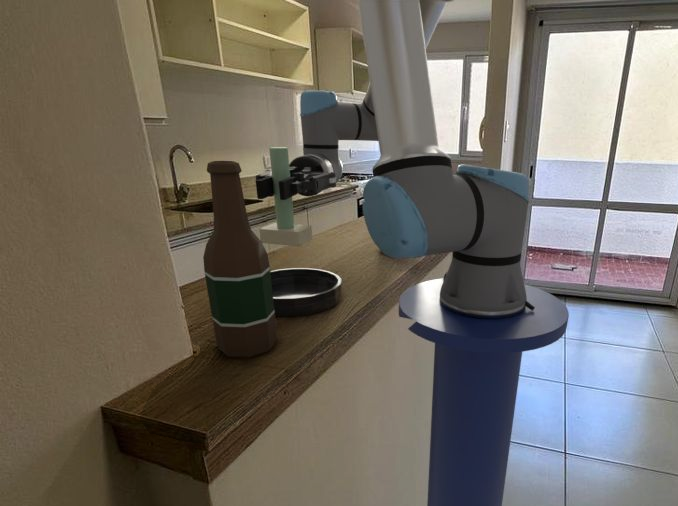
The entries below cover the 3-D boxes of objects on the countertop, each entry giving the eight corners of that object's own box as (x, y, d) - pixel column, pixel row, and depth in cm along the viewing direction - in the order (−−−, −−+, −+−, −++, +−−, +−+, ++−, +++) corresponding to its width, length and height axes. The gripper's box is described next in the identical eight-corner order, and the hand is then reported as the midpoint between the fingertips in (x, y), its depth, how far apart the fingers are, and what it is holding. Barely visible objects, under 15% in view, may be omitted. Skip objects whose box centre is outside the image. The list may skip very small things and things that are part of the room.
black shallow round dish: (354, 288, 84) (354, 272, 82) (319, 322, 69) (318, 303, 68) (275, 280, 87) (273, 264, 85) (225, 311, 72) (222, 292, 71)
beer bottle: (289, 340, 63) (272, 161, 54) (249, 364, 57) (221, 165, 47) (247, 329, 66) (224, 158, 57) (204, 351, 59) (170, 161, 50)
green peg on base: (312, 239, 78) (306, 147, 72) (299, 246, 73) (291, 149, 67) (275, 236, 79) (266, 145, 73) (260, 243, 75) (249, 147, 68)
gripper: (350, 195, 90) (323, 217, 69) (273, 192, 91) (222, 213, 69) (349, 156, 87) (321, 166, 66) (269, 153, 88) (214, 162, 66)
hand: (270, 190), depth 67 cm, fingers closed on green peg on base, 3 cm apart
